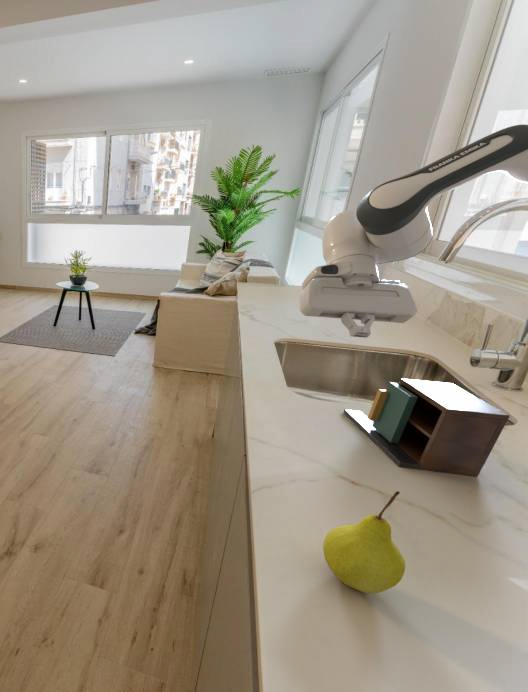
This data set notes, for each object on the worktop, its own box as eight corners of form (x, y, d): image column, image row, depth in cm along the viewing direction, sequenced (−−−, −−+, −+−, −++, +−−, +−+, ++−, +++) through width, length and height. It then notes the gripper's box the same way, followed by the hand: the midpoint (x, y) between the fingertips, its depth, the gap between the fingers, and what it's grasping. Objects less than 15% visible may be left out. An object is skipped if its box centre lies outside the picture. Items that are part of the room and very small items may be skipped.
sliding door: (379, 426, 79) (396, 382, 75) (398, 443, 73) (418, 397, 70) (364, 424, 79) (381, 381, 76) (382, 441, 74) (401, 395, 70)
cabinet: (404, 419, 84) (426, 368, 80) (477, 476, 67) (510, 415, 63) (342, 412, 86) (360, 362, 82) (398, 466, 69) (425, 406, 65)
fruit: (355, 614, 44) (396, 523, 39) (300, 562, 50) (331, 479, 45) (405, 601, 46) (451, 512, 41) (346, 552, 52) (380, 470, 47)
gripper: (396, 290, 92) (408, 347, 87) (293, 284, 95) (298, 338, 90) (417, 272, 86) (431, 332, 81) (307, 266, 90) (313, 324, 84)
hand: (360, 335), depth 85 cm, fingers closed
